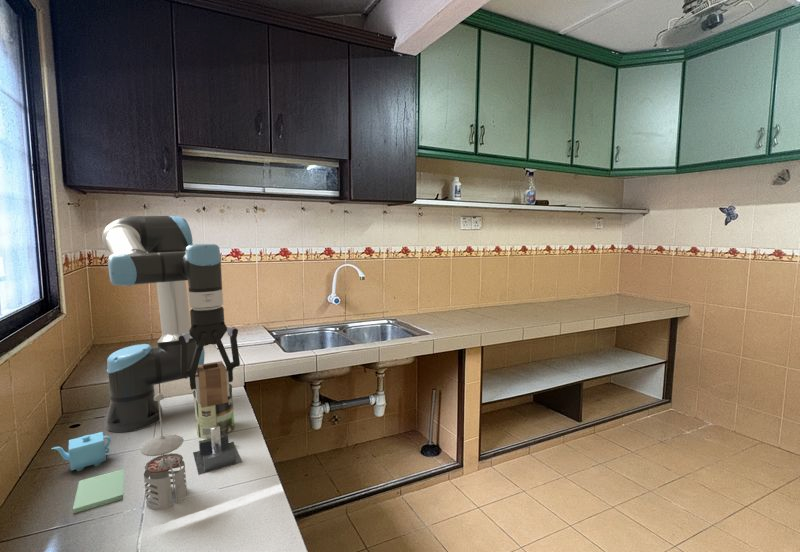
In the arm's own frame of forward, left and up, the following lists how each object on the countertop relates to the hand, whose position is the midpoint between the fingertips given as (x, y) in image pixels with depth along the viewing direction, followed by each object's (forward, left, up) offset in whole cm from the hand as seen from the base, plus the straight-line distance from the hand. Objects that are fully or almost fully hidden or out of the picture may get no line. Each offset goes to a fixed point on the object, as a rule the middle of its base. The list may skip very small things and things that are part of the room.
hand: (212, 397), depth 105 cm
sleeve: (0, 0, -1) cm, 1 cm away
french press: (+12, -12, -18) cm, 24 cm away
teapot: (-18, -29, -18) cm, 38 cm away
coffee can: (-16, +2, -18) cm, 24 cm away
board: (-2, -24, -17) cm, 30 cm away
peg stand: (0, 0, -17) cm, 17 cm away
